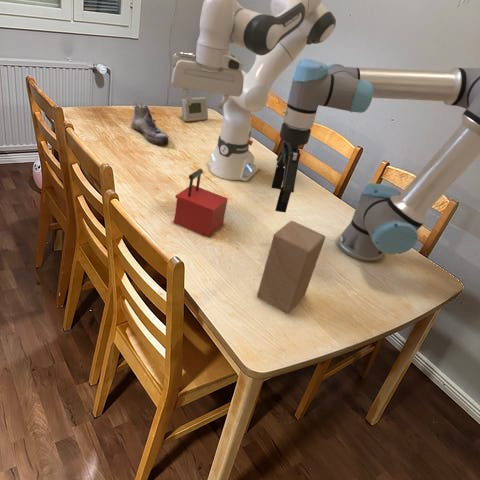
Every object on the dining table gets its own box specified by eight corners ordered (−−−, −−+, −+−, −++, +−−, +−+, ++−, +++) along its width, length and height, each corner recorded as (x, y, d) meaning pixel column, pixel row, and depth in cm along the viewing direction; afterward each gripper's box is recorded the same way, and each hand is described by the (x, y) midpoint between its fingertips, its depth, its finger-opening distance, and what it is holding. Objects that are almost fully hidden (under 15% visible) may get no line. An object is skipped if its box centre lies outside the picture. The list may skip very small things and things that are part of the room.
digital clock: (183, 122, 219) (186, 101, 213) (175, 116, 224) (177, 95, 219) (211, 122, 228) (214, 101, 222) (202, 115, 233) (205, 95, 228)
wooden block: (289, 314, 113) (310, 251, 102) (255, 296, 116) (273, 233, 106) (304, 296, 120) (326, 235, 110) (273, 279, 124) (291, 219, 113)
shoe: (172, 146, 190) (175, 119, 184) (147, 147, 185) (150, 118, 178) (151, 125, 207) (154, 99, 201) (129, 125, 202) (130, 98, 195)
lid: (175, 197, 135) (178, 173, 130) (191, 186, 143) (194, 163, 138) (213, 212, 131) (217, 188, 127) (227, 200, 140) (232, 177, 135)
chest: (173, 223, 139) (176, 198, 135) (189, 211, 147) (192, 187, 143) (208, 237, 136) (213, 212, 131) (222, 224, 144) (227, 200, 140)
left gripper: (174, 52, 116) (168, 104, 123) (248, 65, 121) (239, 114, 128) (173, 48, 121) (167, 98, 128) (244, 60, 126) (235, 108, 133)
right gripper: (278, 108, 121) (262, 177, 133) (288, 140, 100) (268, 219, 112) (304, 113, 122) (286, 181, 133) (319, 145, 101) (296, 224, 113)
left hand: (204, 106), depth 128 cm, fingers open, 8 cm apart
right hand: (278, 199), depth 123 cm, fingers open, 13 cm apart
